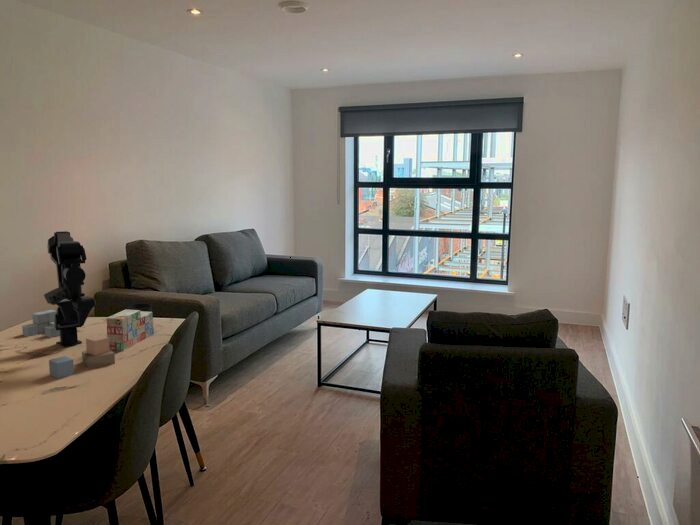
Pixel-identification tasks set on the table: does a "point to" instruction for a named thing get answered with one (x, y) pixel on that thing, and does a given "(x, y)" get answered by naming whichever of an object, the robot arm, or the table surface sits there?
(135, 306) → the pen holder
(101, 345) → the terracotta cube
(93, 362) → the taupe faceted block
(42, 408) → the table surface
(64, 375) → the slate cube
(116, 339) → the stack of blocks
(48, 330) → the pale blue stepped block
